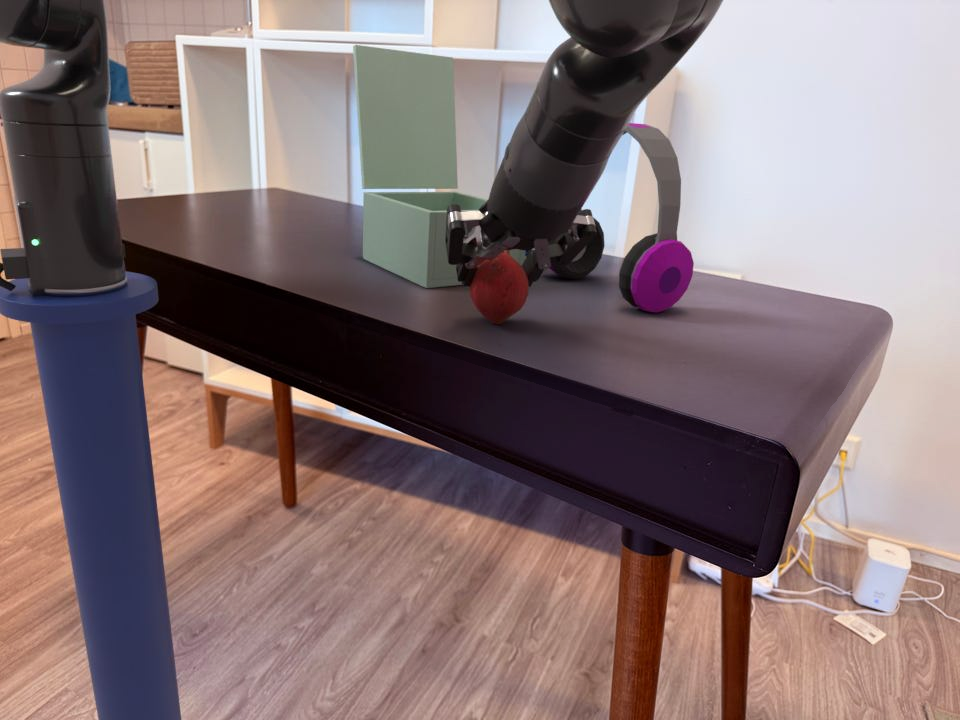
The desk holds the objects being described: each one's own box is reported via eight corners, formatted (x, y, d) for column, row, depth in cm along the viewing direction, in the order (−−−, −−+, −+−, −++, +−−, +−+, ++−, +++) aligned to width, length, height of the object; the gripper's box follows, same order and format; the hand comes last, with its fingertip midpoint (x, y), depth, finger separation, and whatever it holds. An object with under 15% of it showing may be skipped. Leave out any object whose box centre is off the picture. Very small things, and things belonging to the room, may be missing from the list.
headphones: (532, 274, 89) (548, 116, 82) (584, 271, 93) (604, 121, 86) (634, 319, 72) (665, 125, 65) (693, 313, 76) (728, 130, 69)
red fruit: (508, 337, 63) (516, 254, 61) (457, 324, 66) (461, 244, 63) (533, 323, 68) (541, 245, 65) (484, 312, 71) (490, 237, 68)
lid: (453, 57, 92) (436, 63, 95) (355, 44, 84) (340, 51, 87) (457, 188, 96) (441, 189, 99) (364, 188, 87) (350, 190, 91)
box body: (523, 278, 87) (529, 209, 84) (426, 288, 78) (429, 212, 75) (452, 252, 99) (456, 191, 96) (362, 258, 91) (363, 192, 88)
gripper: (468, 204, 49) (429, 312, 64) (642, 210, 53) (567, 311, 68) (455, 125, 52) (421, 246, 67) (621, 137, 56) (554, 248, 71)
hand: (495, 278), depth 67 cm, fingers closed on red fruit, 5 cm apart
